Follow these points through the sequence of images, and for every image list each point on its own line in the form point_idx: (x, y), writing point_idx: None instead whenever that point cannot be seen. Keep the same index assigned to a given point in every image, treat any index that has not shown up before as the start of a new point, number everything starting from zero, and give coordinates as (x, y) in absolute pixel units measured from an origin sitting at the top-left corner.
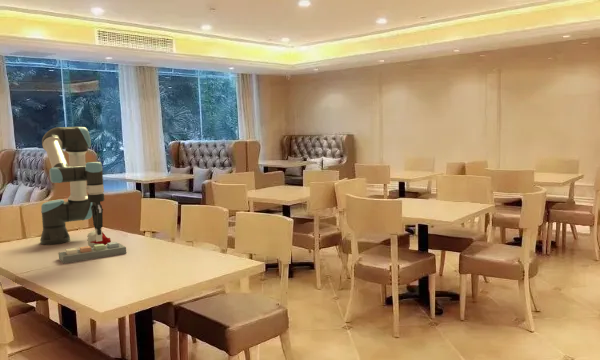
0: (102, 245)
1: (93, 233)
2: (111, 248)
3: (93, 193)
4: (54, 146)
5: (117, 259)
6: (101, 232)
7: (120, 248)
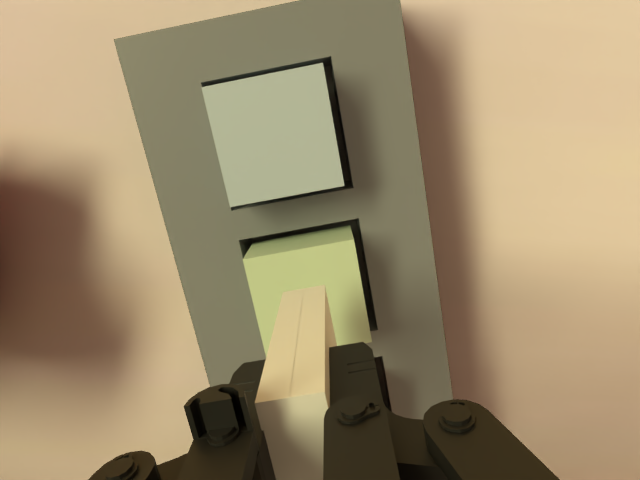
0: (350, 270)
1: None
2: (374, 163)
3: None
4: None
5: (612, 125)
6: (326, 345)
7: (406, 57)
